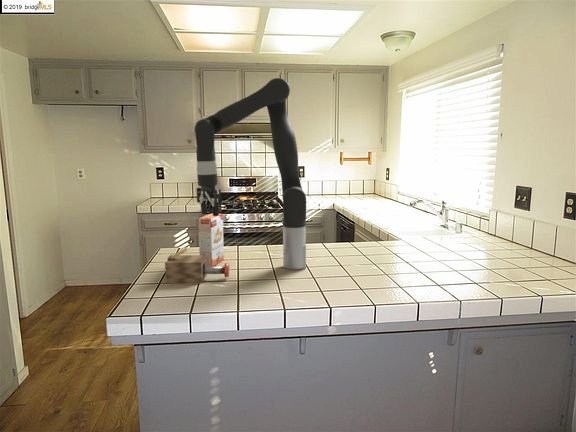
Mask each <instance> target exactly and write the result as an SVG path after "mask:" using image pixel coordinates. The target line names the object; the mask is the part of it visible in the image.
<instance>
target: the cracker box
mask: <svg viewBox="0 0 576 432" xmlns="http://www.w3.org/2000/svg"><path fill="white" fill-rule="evenodd" d="M197 222H198V243H199V245H198V247H199V249H198V251H199V255H206V266H207V267H216V266H217V265H218V264H220V263H221V262H222V261H223V260H224V259H225V258H224V257H225V255H224V253H225V252H224V251H225V250H224V214H223V213H219V215H218V216H213V212H212V213H209V214H205V215H204V216H202V217H201V216H200V217H199V218H198V221H197Z"/></svg>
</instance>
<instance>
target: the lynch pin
mask: <svg viewBox="0 0 576 432" xmlns="http://www.w3.org/2000/svg"><path fill="white" fill-rule="evenodd" d="M203 274H207V275H224V278H229V277H230V264H229V263H228V262H227V263H226V262H225V263H224V266H214V267H203Z"/></svg>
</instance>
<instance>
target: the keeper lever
mask: <svg viewBox="0 0 576 432" xmlns="http://www.w3.org/2000/svg"><path fill="white" fill-rule="evenodd" d="M187 251H188V249H187V247H185V248H183V249H181V250H179V251H177V252H176V253H173V254H170V255H169V256H168V257H167V260H172V259H173V258H175V257H177V256H179V255H183V254H184V253H186V252H187Z"/></svg>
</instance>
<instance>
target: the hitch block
mask: <svg viewBox="0 0 576 432" xmlns="http://www.w3.org/2000/svg"><path fill="white" fill-rule="evenodd" d="M164 267H165V271H164V272H165V282H166V283H165V284H166V285H170V284H171V285H172V284H173V285H180V284H181V285H182V284H183V285H185V284H191V285H193V284H195V285H196V284H198V285H199V284H201V285H202V284H203V282H204V281H205V279H206V277H207V275H208V274H203V267H207V266H206V255H200V254H193V255H187V254H186V255H183V254H181V255H179V256H177V257H175V258H173V259H172V260H168V259H167V260H166V261H165V262H164Z"/></svg>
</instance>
